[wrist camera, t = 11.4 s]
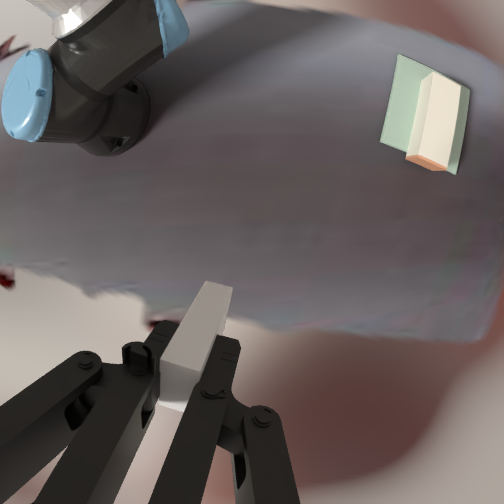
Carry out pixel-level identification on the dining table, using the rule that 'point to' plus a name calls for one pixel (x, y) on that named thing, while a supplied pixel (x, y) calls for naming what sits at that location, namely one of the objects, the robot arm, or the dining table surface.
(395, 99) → the sage mat
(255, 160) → the dining table surface
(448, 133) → the cream block
